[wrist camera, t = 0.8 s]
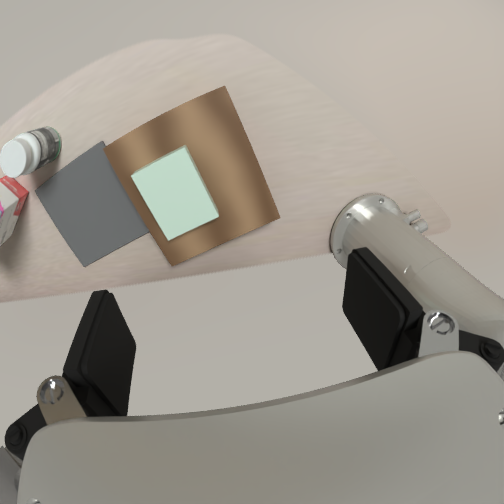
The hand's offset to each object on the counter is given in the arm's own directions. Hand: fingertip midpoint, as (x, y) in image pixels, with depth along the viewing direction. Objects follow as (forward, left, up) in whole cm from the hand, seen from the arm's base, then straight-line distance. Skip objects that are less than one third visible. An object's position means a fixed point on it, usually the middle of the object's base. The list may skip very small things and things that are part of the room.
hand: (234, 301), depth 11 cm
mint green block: (+4, 0, -21) cm, 22 cm away
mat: (+16, -2, -25) cm, 30 cm away
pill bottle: (+17, -13, -25) cm, 33 cm away
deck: (+2, 0, -25) cm, 25 cm away
